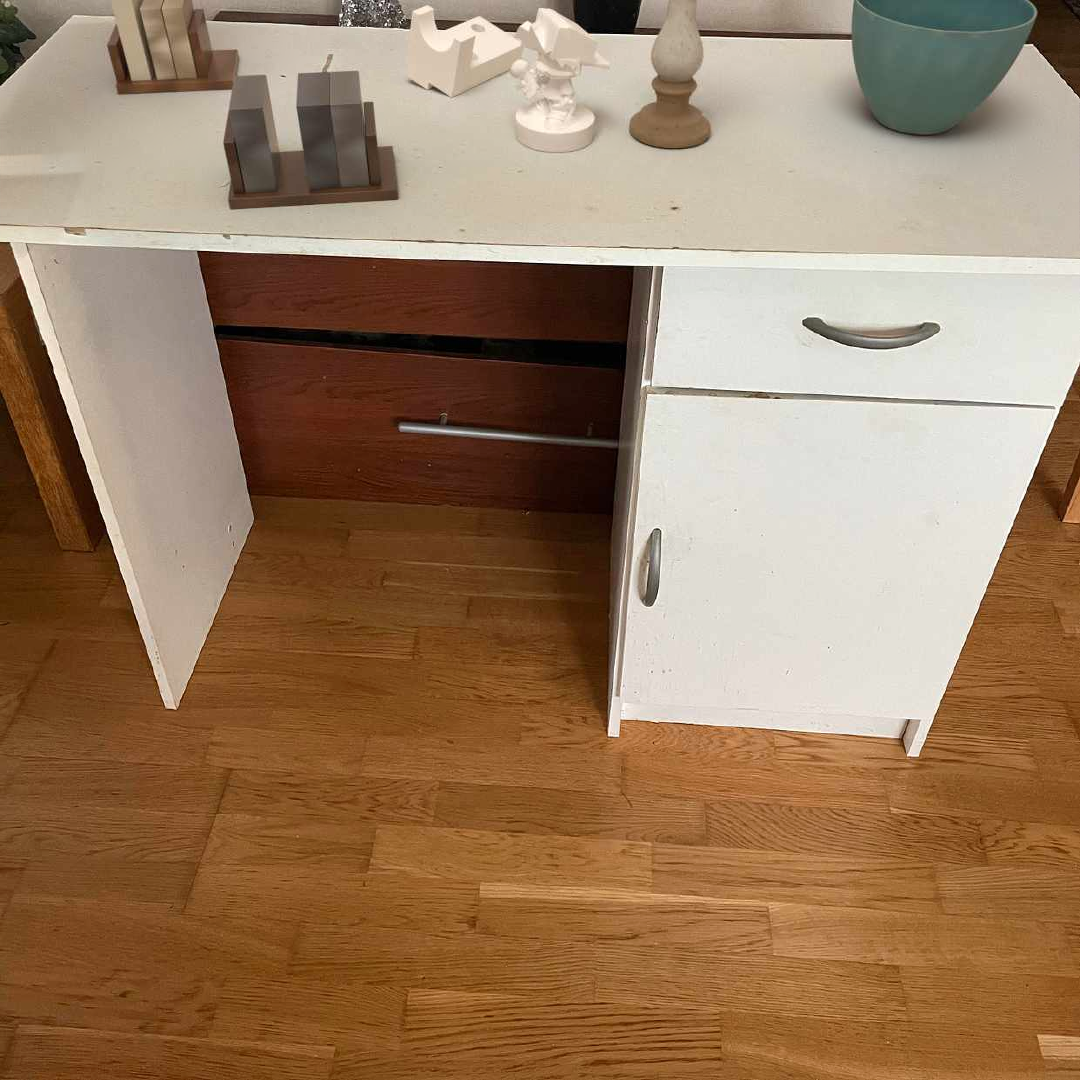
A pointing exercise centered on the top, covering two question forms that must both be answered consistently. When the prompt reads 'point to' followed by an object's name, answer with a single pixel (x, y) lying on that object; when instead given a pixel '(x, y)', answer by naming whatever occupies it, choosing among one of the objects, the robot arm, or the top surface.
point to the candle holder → (674, 84)
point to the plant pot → (934, 57)
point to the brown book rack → (175, 52)
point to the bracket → (457, 53)
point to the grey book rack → (306, 145)
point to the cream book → (133, 38)
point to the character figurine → (554, 84)
